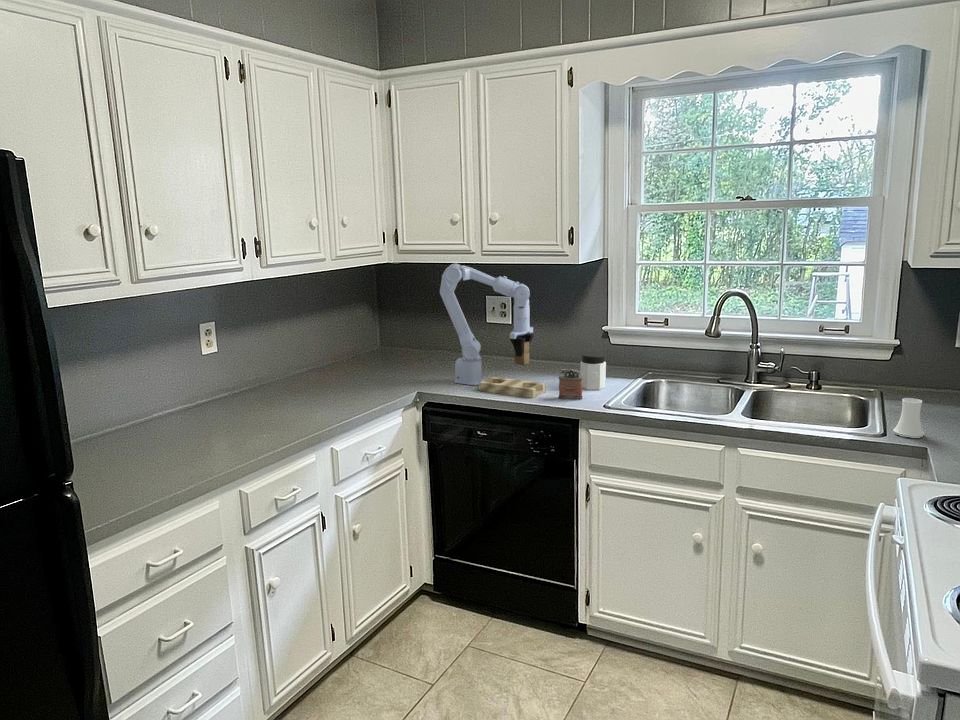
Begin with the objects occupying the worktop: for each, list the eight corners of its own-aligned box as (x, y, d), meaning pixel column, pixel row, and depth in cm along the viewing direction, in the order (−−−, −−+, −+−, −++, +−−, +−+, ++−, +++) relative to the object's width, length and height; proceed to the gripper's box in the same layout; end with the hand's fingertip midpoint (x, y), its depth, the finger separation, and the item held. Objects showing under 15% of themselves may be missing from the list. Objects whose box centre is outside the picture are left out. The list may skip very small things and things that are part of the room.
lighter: (583, 397, 249) (583, 368, 247) (581, 400, 246) (582, 371, 243) (559, 396, 251) (559, 367, 249) (557, 398, 248) (557, 370, 246)
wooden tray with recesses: (478, 390, 260) (478, 382, 259) (492, 384, 268) (492, 376, 267) (533, 398, 249) (533, 389, 249) (545, 391, 257) (545, 383, 256)
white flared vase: (895, 428, 211) (899, 395, 208) (926, 433, 206) (930, 399, 204) (890, 435, 205) (894, 401, 203) (921, 440, 200) (925, 405, 198)
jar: (580, 390, 258) (580, 356, 256) (579, 384, 266) (580, 352, 264) (606, 390, 257) (606, 356, 255) (604, 384, 265) (605, 352, 263)
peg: (514, 364, 268) (514, 342, 266) (519, 362, 271) (519, 340, 270) (524, 365, 266) (524, 343, 264) (529, 363, 269) (529, 341, 268)
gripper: (522, 322, 257) (522, 359, 260) (540, 315, 269) (540, 352, 272) (504, 320, 260) (504, 357, 263) (523, 314, 273) (523, 350, 275)
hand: (521, 354), depth 268 cm, fingers closed on peg, 4 cm apart
